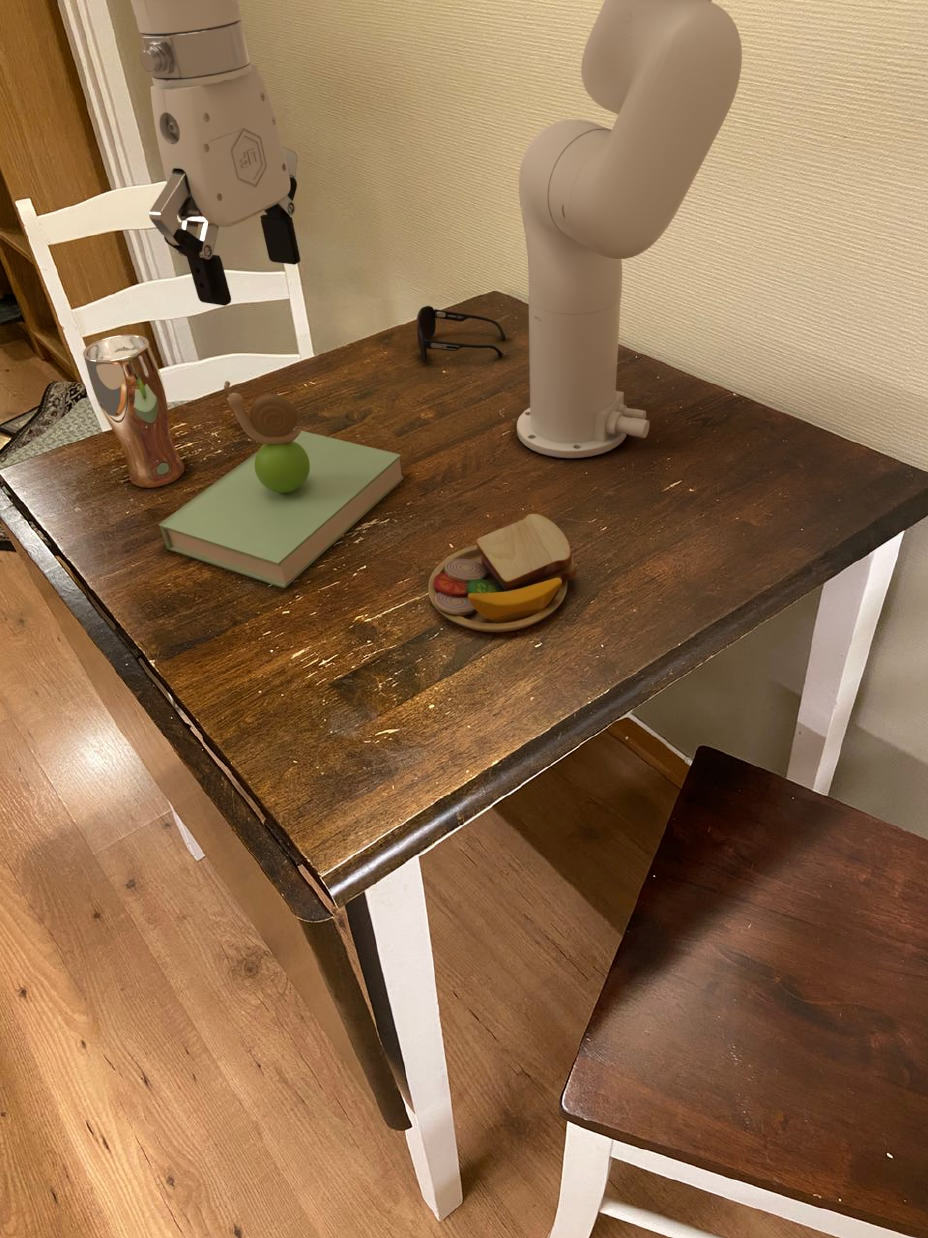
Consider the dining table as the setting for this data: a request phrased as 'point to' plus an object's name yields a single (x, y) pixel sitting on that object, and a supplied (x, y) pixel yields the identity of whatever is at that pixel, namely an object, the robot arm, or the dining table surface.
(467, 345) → the sunglasses
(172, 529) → the book
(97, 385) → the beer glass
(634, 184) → the robot arm
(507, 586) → the toy sandwich meal
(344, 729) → the dining table surface
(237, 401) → the snail figurine
